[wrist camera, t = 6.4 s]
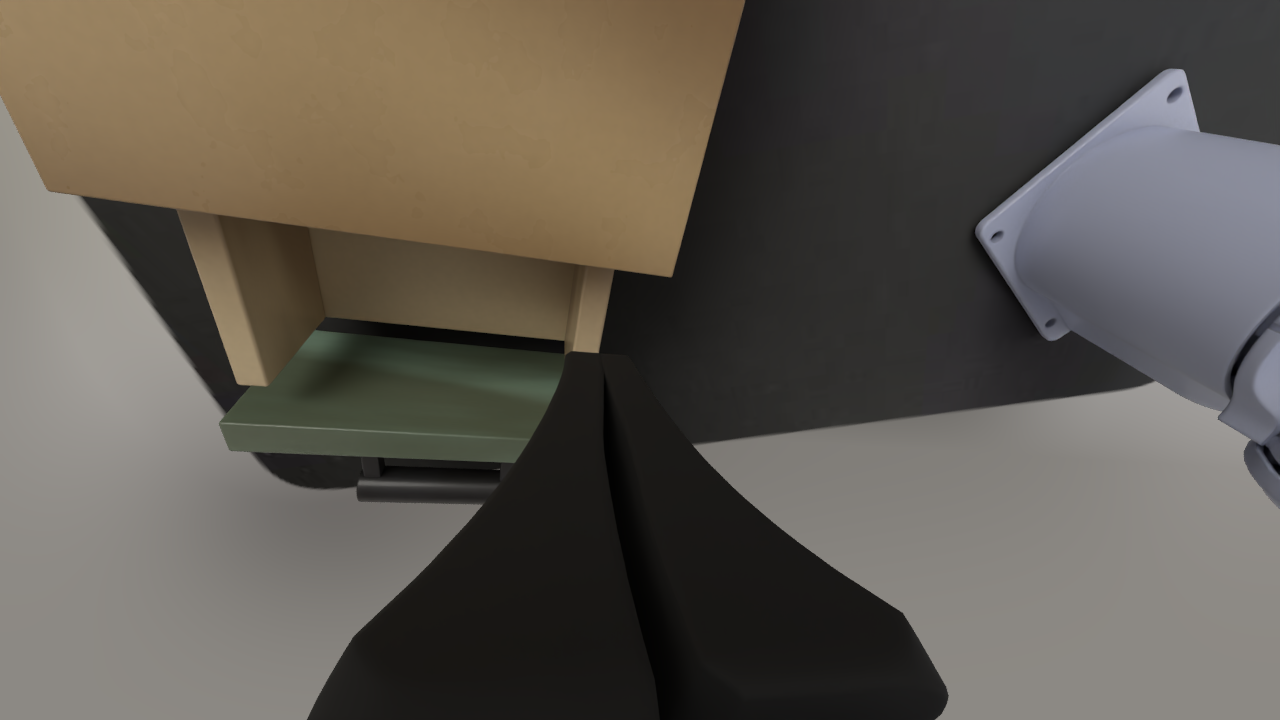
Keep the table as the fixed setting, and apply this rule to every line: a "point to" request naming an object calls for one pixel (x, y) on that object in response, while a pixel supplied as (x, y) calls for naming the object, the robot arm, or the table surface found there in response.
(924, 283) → the table surface
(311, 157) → the cabinet
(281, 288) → the drawer
